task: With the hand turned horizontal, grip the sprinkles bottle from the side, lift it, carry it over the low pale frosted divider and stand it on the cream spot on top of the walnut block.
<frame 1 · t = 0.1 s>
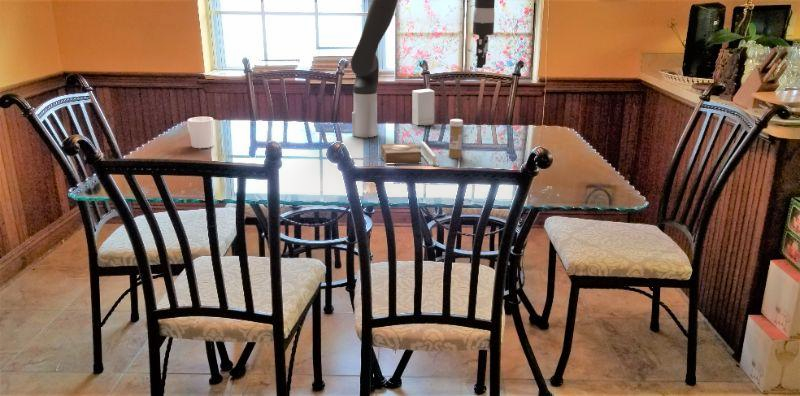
hand: (481, 66, 234), 29 cm above the table, tool pointing down, fingers open, 8 cm apart
walnut block: (400, 159, 222), on the table
sprinkles bottle: (455, 157, 225), on the table
divider: (428, 158, 224), on the table
mug: (201, 146, 236), on the table
skincare box: (422, 124, 274), on the table
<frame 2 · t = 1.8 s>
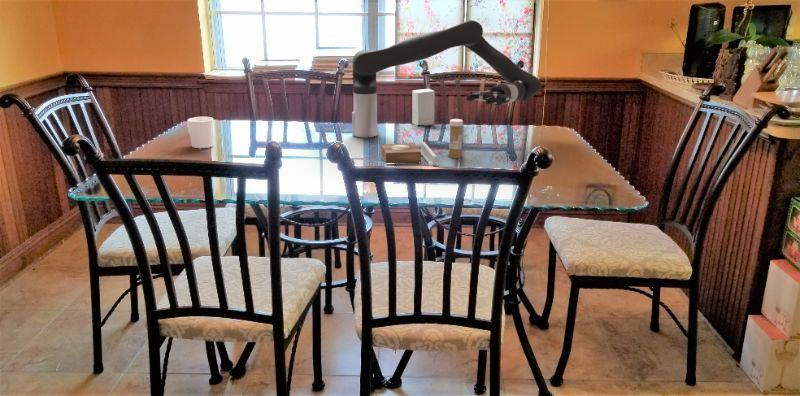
hand: (477, 99, 226), 19 cm above the table, tool horizontal, fingers open, 8 cm apart
nothing on the table moved.
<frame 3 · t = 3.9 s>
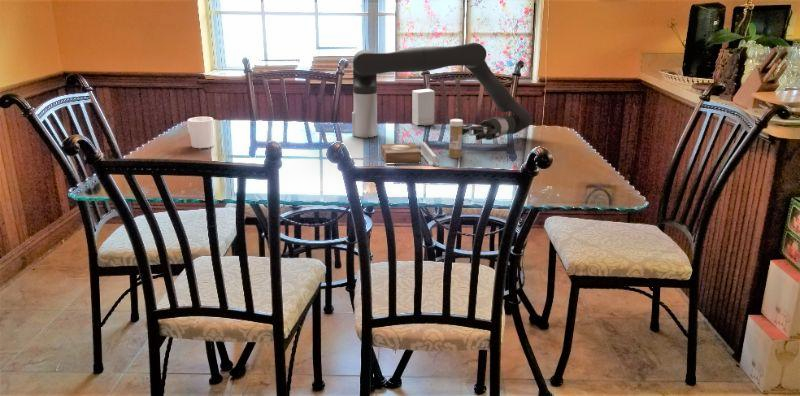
hand: (467, 135, 227), 7 cm above the table, tool horizontal, fingers open, 8 cm apart
nothing on the table moved.
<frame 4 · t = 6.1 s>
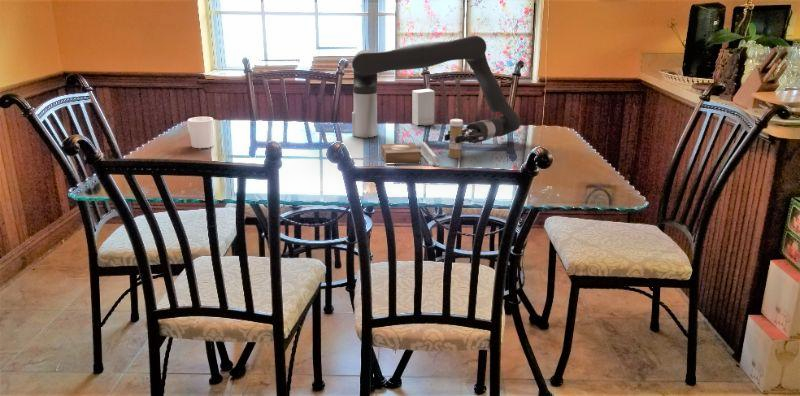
hand: (450, 139, 221), 7 cm above the table, tool horizontal, fingers closed on sprinkles bottle, 4 cm apart
sprinkles bottle: (455, 157, 225), on the table, touching gripper
everything else where it was.
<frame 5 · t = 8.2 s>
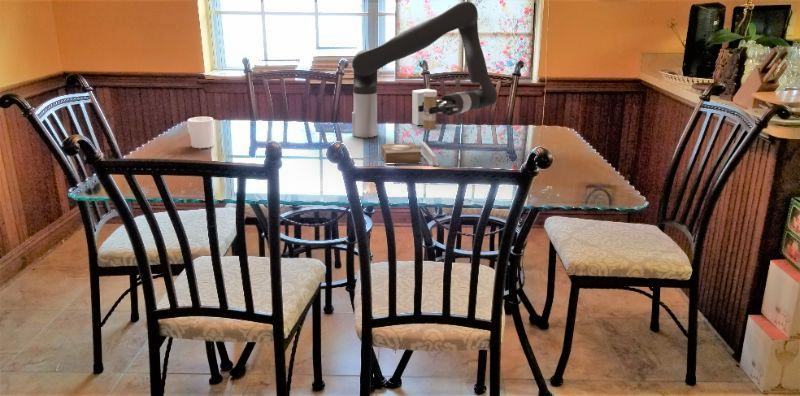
hand: (424, 110, 216), 18 cm above the table, tool horizontal, fingers closed on sprinkles bottle, 4 cm apart
sprinkles bottle: (429, 129, 220), point 10 cm above the table, touching gripper
everything else where it was.
when the fingers open (12 cm above the table, at t = 10.2 s): sprinkles bottle drops 1 cm, resting on walnut block.
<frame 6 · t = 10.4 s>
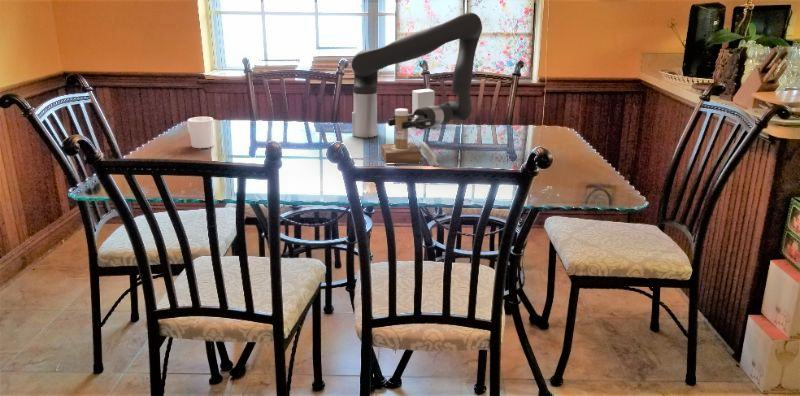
hand: (395, 124, 216), 13 cm above the table, tool horizontal, fingers open, 6 cm apart
sprinkles bottle: (401, 148, 220), point 4 cm above the table, touching walnut block
everything else where it was.
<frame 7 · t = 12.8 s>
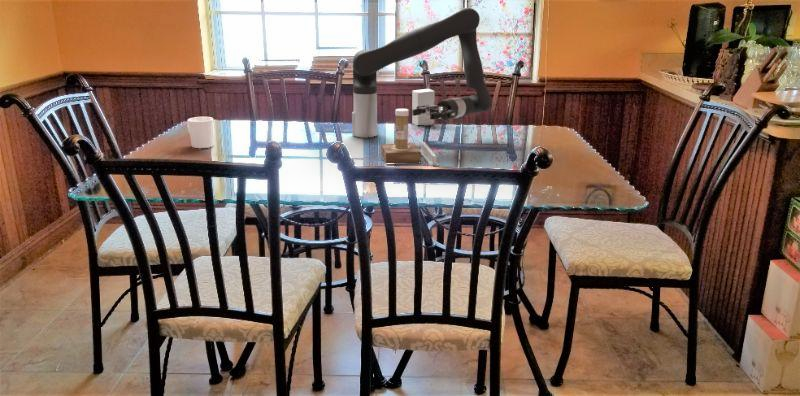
hand: (422, 114, 225), 14 cm above the table, tool horizontal, fingers open, 8 cm apart
nothing on the table moved.
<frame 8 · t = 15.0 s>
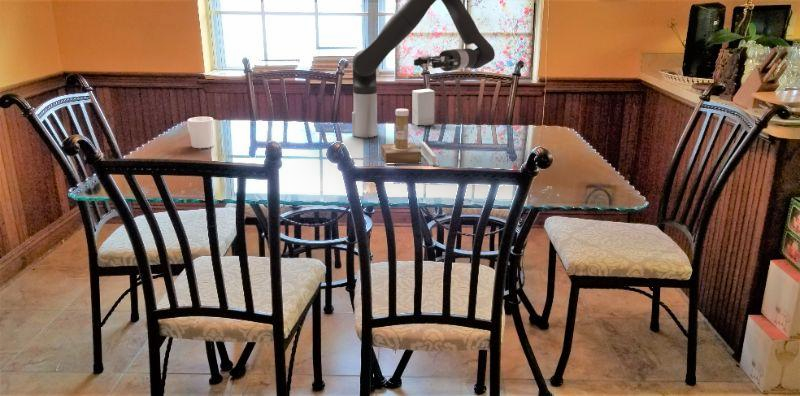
hand: (423, 63, 219), 32 cm above the table, tool horizontal, fingers open, 8 cm apart
nothing on the table moved.
at the end: sprinkles bottle inside the target area on the walnut block (0.4 cm from its centre), point 4.0 cm above the walnut block's base; sprinkles bottle tilted 0°; the gripper is holding nothing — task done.
